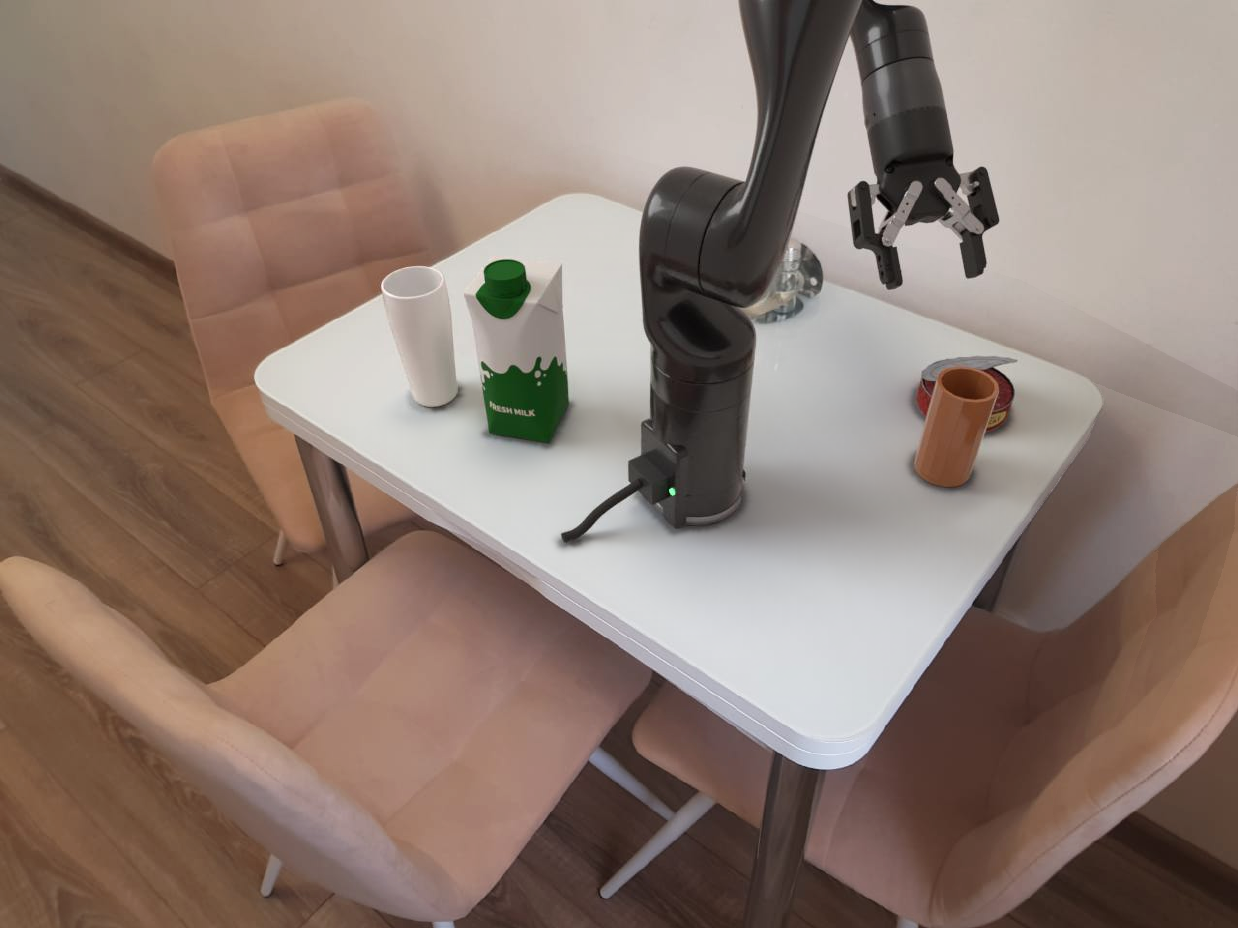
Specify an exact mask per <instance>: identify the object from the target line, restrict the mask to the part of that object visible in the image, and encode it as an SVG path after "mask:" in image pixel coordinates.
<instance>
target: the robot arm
mask: <svg viewBox="0 0 1238 928" xmlns="http://www.w3.org/2000/svg"><path fill="white" fill-rule="evenodd" d="M737 5H738V10H739V16H740V22H741V28H742V33H743V37H744V42H745V45H746V51H747V55H748V59H749V64H750V68H751V72H752V78H753V84H754V89H755V98H756V108H757V110H756V111H757V112H756V113H757V114H756V115H757V116H756V117H757V118H756V131H755V138H754V143H753V144H754V145H753V149H752V155H751V159H750V163H749V167H748V171H747V175H746V177H745V180H740V179H737V178H733V177H730V176H727V175H724V174H721V173H720V174H719V173H717V172H713V171H709V170H705V169H702V168H698V167H693V166H686V165H683V166H677V167H673V168H671V169H669V170H668V171H667V172H665V173H664V174H662V175H661V176H660V177H659V179H658V180H657V181H656V182H655V184H654V185H653V187H652V188H651V190H650V192H649V194H648V197H647V199H646V201H645V204H644V207H643V210H642V214H641V221H640V226H639V232H638V233H639V236H638V264H639V265H638V268H639V283H640V295H641V296H640V297H641V313H642V326H643V330H644V331H643V332H644V334H645V336H646V338H647V341H648V343H649V355H650V356H649V359H650V360H649V361H650V362H649V364H650V365H649V368H650V369H649V373H650V374H649V418H647V419H644V420H642V421H641V423H640V455H638V456H636V457H633V458H631V459H629V460H627V474H628V475H627V478H628V479H627V480H628V482H629V484H627V485H626V486H624V487H623V488H621V489H619V490H618V491H616V492H615V493H614V494H612V495H611V496H609V497H607V498H606V499H605V500H604V501H603V502H601V503H599V504H598V505H597V506H596V507H595V508H594V509H592V510H591V512H590V513H589V514H588V515H587V516H586V517H585V518H584V520H582V522H581V523H580V524H578V525H577V526H576V527H574V528H573V529H570V530H567V531H564V532H561V533H560V537H561V540H562V542H563V543H568V542H572V541H574V540H576V539H579V538H580V537H582V536H583V535H584V534H586V533H587V532H588V531H589V530H590V529H591V528H592V527H593V526H594V525H595V523H596V522H597V521H598V520H599V519H600V518H601V517H602V516H604V515H605V514H606V513H608V511H610V510H611V509H613V508H614V507H615V506H617V505H618V504H620V503H621V502H623V501H624V500H626V499H627V498H629V497H630V496H632V495H633V494H635V493H637V492H638V493H639V494H641V496H642V497H643V498H644V499H645V500H646V501H647V502H648V503H649V504H650V505H651V506H653V508H654V509H655V510H656V511H657V512H658V513H659V514H660V515H661V516H663V517H664V518H665V520H666V521H667V522H668V523H669V524H670V525H671V526H672V527H673V528H675V529H678V528H681V527H683V526H686V525H687V526H688V525H689V526H707V525H711V524H715V523H719V522H721V521H723V520H725V519H727V518H729V516H732V515H733V513H735V511H736V510H737V509H738V508H739V507H740V504H741V501H742V496H743V480H744V482H746V477H747V473H746V471H745V469H744V466H745V456H746V447H747V438H748V437H747V436H748V426H749V417H750V409H751V398H752V389H753V388H752V387H753V381H754V380H753V378H754V368H755V360H756V359H755V358H756V350H757V349H756V348H757V331H756V326H755V325H754V322H753V320H752V319H751V318H750V316H749V315H748V314H747V313H746V311H744V309H747V308H751V307H754V306H755V305H756V304H758V303H759V302H761V300H762V299H763V298H764V297H765V296H767V295H766V294H767V293H768V292H769V290H770V289H771V287H772V286H773V284H774V282H775V280H776V278H777V276H778V274H779V272H780V270H781V267H782V265H783V263H784V261H785V260H784V259H785V257H786V254H787V250H788V248H789V244H790V241H791V238H792V235H793V230H794V227H795V226H794V225H795V223H796V220H797V216H798V211H799V207H800V204H801V200H802V196H803V192H804V188H805V184H806V180H807V177H808V172H809V168H810V166H811V165H810V164H811V161H812V157H813V153H814V149H815V146H816V141H817V138H818V133H819V130H820V126H821V123H822V119H823V116H824V112H825V109H826V106H827V103H828V100H829V97H830V93H831V92H832V91H831V90H832V88H833V85H834V81H835V78H836V75H837V72H838V70H839V67H840V63H841V61H842V58H843V55H844V52H845V49H846V46H847V43H848V41H849V39H850V41H851V44H852V47H853V52H854V56H855V61H856V66H857V71H858V77H859V82H860V89H861V104H862V113H863V118H864V119H863V124H864V126H865V127H864V128H865V130H866V136H867V140H868V146H869V151H870V152H869V153H870V156H871V161H872V162H871V163H872V168H873V173H874V175H875V177H876V184H875V183H874V184H872V183H871V184H869V183H868V182H867V181H866V180H861V181H859V182H858V183H857V184H856V185H855V186H853V187H852V188H851V189H850V190H849V191H848V192H847V196H846V197H847V205H848V213H849V221H850V228H851V237H852V243H853V247H854V248H855V249H857V250H862V249H864V250H868V251H871V252H872V253H873V254H874V256H875V261H876V266H877V272H878V277H879V281H880V283H881V284H882V285H885V288H886V290H888V291H890V290H896V289H897V288H900V287H901V286H903V282H904V279H903V274H902V268H901V264H900V258H899V252H898V247H897V246H893V245H894V243H895V241H896V239H897V237H898V235H899V234H900V231H901V229H902V228H903V227H909V226H913V225H916V224H918V223H922V224H932V223H935V222H936V221H938V222H939V223H940V224H941V226H943V227H944V228H946V229H950V231H952V232H953V233H954V234H955V235H956V236H957V237H958V238H959V239H960V240H961V242H959V243H958V245H959V250H960V255H961V259H962V265H963V270H964V276H965V278H966V279H967V280H968V279H975V278H978V277H979V276H982V275H983V274H984V271H985V269H986V268H987V264H988V262H987V261H988V260H987V256H986V251H985V245H984V239H983V235H984V233H985V232H987V231H989V230H990V229H992V228H994V227H995V226H997V225H999V224H1000V216H999V212H998V207H997V204H996V199H995V195H994V192H993V187H992V184H991V179H990V175H989V171H988V169H987V168H986V167H985V166H979V167H977V168H975V169H974V170H973V171H967V172H963V173H959V171H958V170H957V169H956V167H955V165H954V154H955V153H954V152H955V151H954V144H953V140H952V134H951V129H950V124H949V120H948V113H947V108H946V104H945V103H946V102H945V97H944V92H943V91H944V90H943V87H942V83H941V80H940V76H939V74H938V71H937V68H936V63H935V59H934V54H933V48H932V42H931V37H930V33H929V26H928V22H927V18H926V16H925V14H924V12H923V11H922V10H921V9H920V8H918V7H916V6H914V5H908V4H885V3H879V2H876V1H875V0H737ZM959 189H961V193H962V195H965V196H966V198H967V202H966V201H965V200H964V199H963V198H962V197H961V196H960V195H959V194H958V191H959ZM876 200H877V201H878V202H879V203H880V204H881V205H882V206H883V207H884V209H886V210H887V211H885V214H884V216H883V219H882V221H881V223H880V224H879V226H878V232H876V228H875V222H874V221H875V220H874V212H873V206H874V204H875V203H876ZM950 209H951V210H952V211H953V212H952V211H950Z"/></svg>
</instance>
